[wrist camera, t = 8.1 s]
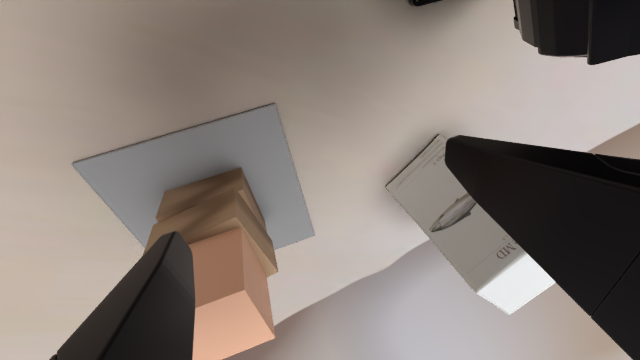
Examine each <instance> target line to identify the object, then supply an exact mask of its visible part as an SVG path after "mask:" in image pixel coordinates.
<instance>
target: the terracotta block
mask: <svg viewBox="0 0 640 360" xmlns="http://www.w3.org/2000/svg"><path fill="white" fill-rule="evenodd" d="M188 246H189V247H190V248H191V251H192V254H193V267H194V282H195V300H196V302H195V323H194V340H193V358H192V360H222V359H224V358H227V357H229V356H232V355H234V354H236V353H239V352H241V351H244V350H246V349H249V348H252V347H254V346H257V345H259V344H262V343H264V342H266V341H269V340H272V339H274V338H275V333H274V326H273V319H272V312H271V305H270V298H269V291H268V284H267V277H266V274H265V272H264V270H263V268H262V266H261V264H260V262H259V261H258V259H257V257H256V255H255V253H254V251H253V249H252V247H251V245H250V243H249V241H248V239H247V238H246V236H245V234H244V232H243V230H242V228H241V227H238V228H235V229H233V230H230V231H227V232H224V233H221V234H218V235H215V236H212V237H209V238H206V239H203V240H201V241H198V242H195V243H192V244H189V245H188Z"/></svg>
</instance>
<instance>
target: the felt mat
mask: <svg viewBox="0 0 640 360" xmlns="http://www.w3.org/2000/svg"><path fill="white" fill-rule="evenodd" d="M71 165H72V166H73V167H74V168H75V169H76V170H77V171H78V173H79V174H80V175H81V176H82V177H83V178H84V179H85V181H86V182H87V183H88V184H89V185H90V186H91V187H92V189H93V190H94V191H95V192H96V193H97V194H98V195H99V196H100V198H101V199H102V200H103V201H104V202H105V203H106V204H107V206H108V207H109V208H110V209H111V210H112V211H113V212H114V214H115V215H116V216H117V217H118V218H119V219H120V220H121V222H122V223H123V224H124V225H125V226H126V227H127V228H128V230H129V231H130V232H131V233H132V234H133V235H134V236H135V238H136V239H137V240H138V241H139V242H140V243H141V244H142V245H143V247H144V248H146V245H147V242H148V239H149V236H150V233H151V230H152V227H153V225H154V224H156V223H158V221H157V220H156V215H157V212H158V209H159V206H160V203H161V200H162V197H163V195H164V192H165V191H168V190H171V189H174V188H177V187H180V186H184V185H187V184H190V183H193V182H196V181H199V180H202V179H206V178H209V177H212V176H215V175H218V174H221V173H224V172H228V171H231V170H234V169H237V168H240V167H241V168H242V170H243V172H244V175H245V177H246V179H247V181H248V184H249V186H250V188H251V190H252V193H253V195H254V197H255V199H256V202H257V204H258V206H259V209H260V211H261V213H262V215H263V218H264V220H265V224H266V230H267V234H268V235H269V237H270V238H271V240H272V242H273V247H274V250H276V249H279V248H281V247H284V246H287V245H290V244H293V243H295V242H298V241H301V240H304V239H306V238H309V237H312V236H315V234H314V230H313V227H312V224H311V220H310V217H309V214H308V211H307V207H306V204H305V201H304V197H303V194H302V191H301V188H300V184H299V181H298V178H297V174H296V171H295V168H294V164H293V161H292V158H291V155H290V151H289V148H288V145H287V141H286V138H285V135H284V131H283V128H282V125H281V122H280V118H279V115H278V112H277V108H276V105H275V103H274V104H270V105H267V106H264V107H260V108H257V109H253V110H250V111H247V112H243V113H240V114H236V115H233V116H230V117H226V118H223V119H219V120H216V121H213V122H209V123H206V124H202V125H199V126H196V127H192V128H189V129H185V130H182V131H179V132H175V133H172V134H168V135H165V136H162V137H158V138H155V139H151V140H148V141H145V142H141V143H138V144H134V145H131V146H128V147H124V148H121V149H117V150H114V151H111V152H107V153H104V154H100V155H97V156H94V157H90V158H87V159H83V160H80V161H77V162H73V163H72V164H71Z"/></svg>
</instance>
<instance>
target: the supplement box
mask: <svg viewBox="0 0 640 360" xmlns="http://www.w3.org/2000/svg"><path fill="white" fill-rule="evenodd" d="M447 140H448V139H447V138H445V137H444V136H442V135H438V136H437V137H436V138H435V140H434V141H433V142H432V143H431V144H430V145H429V146H428V147H427V148H426V149H425V150H424V151H423V152H422V153H421V154H420V155H419V156H418V157H417V158H416V159H415V160H414V161H413V162H412V163H411V164H410V165H409V166H408V167H407V168H406V169H404V170H403V171H402V172H401V173H400V174H399V175H398V176H397V177H396V178H395V179H394V180H393V181H392V182H391V183H389V184H388V185H387V186H386V188H387V190H388V191H389V192H390V193H391V195H392V196H393V197H394V198H395V199H396V200H397V201H398V203H399V204H400V205H401V206H402V207H403V208H404V209H405V211H406V212H407V213H408V214H409V215H410V216H411V217H412V219H413V220H414V221H415V222H416V223H417V224H418V226H419V227H420V228H421V229H422V230H423V231H424V232H425V234H426V235H427V236H428V237H429V238H430V240H431V241H432V242H433V243H434V244H435V245H436V247H437V248H438V249H439V250H440V252H441V253H442V254H443V255H444V256H445V257H446V259H447V260H448V261H449V262H450V263H451V264H452V266H453V267H454V268H455V269H456V270H457V272H458V273H459V274H460V275H461V276H462V277H463V279H464V280H465V281H466V282H467V283H468V285H469V286H470V287H471V288H472V289H473V290H474V291H475V293H477V294H478V295H480V296H481V297H483V298H485V299H486V300H488V301H489V302H491V303H492V304H493V305H495V306H496V307H498V308H499V309H500V310H502V311H503V312H505V313H506V314H507V315H509V314H512V313H513V312H514V311H516V310H517V309H518V308H520V307H521V306H523V305H524V304H525V303H527V302H528V301H530V300H531V299H533V298H534V297H536V296H537V295H538V294H540V293H541V292H543V291H544V290H546V289H547V288H548V287H550V286H551V285H553V284H554V283H556V282H555V281H554V280H553V279H552V278H551V277H550V276H549V275H548V274H547V273H546V272H545V271H544V270H543V269H542V268H541V267H540V266H539V265H538V264H537V263H536V262H535V261H534V260H533V259H532V258H531V257H530V256H529V255H528V254H527V253H526V252H525V251H524V250H523V249H522V248H521V247H520V246H519V245H518V244H517V243H516V242H515V241H514V240H513V239H512V238H511V237H510V236H509V235H508V234H507V233H506V232H505V231H504V230H503V229H502V228H501V227H500V226H499V225H498V224H497V223H496V222H495V221H494V220H493V219H492V218H491V217H490V216H489V215H488V214H487V213H486V212H485V211H484V210H483V209H482V208H481V207H480V206H479V205H478V204H477V203H476V202H475V201H474V199H473V198H472V197H471V196H470V195H469V194H468V193H467V191H466V190H465V189H464V188H463V186H462V185H461V184H460V183H459V181H458V180H457V179H456V178H455V176H454V175H453V174H452V173H451V171H450V170H449V169H448V168H447V166H446V164H445V161H444V158H445V146H446V141H447Z"/></svg>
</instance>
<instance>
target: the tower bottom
mask: <svg viewBox="0 0 640 360" xmlns="http://www.w3.org/2000/svg"><path fill="white" fill-rule="evenodd" d="M234 187H235V188H236V190H237V191H238V193H239V194H240V195H241V197H242V198H243V200H244V201H245V202H246V204H247V205H248V207H249V208H250V210H251V211H252V212H253V214H254V215H255V217H256V218H257V220H258V221H259V222H260V224H261V225H262V227H263V228H264V230H265V231H266V232H267V230H266V224H265V220H264V218H263V215H262V213H261V211H260V209H259V206H258V204H257V202H256V199H255V197H254V195H253V193H252V190H251V188H250V186H249V184H248V181H247V179H246V177H245V175H244V172H243V170H242V168H241V167H240V168H237V169H234V170H231V171H228V172H224V173H221V174H218V175H215V176H212V177H209V178H206V179H202V180H199V181H196V182H193V183H190V184H187V185H184V186H180V187H177V188H174V189H171V190H168V191H165V192H164V195H163V197H162V200H161V203H160V206H159V209H158V212H157V215H156V220H157V221H158V222H161V221H163V220H165V219H167V218H169V217H171V216H174V215H176V214H178V213H180V212H182V211H184V210H186V209H189V208H191V207H193V206H195V205H197V204H199V203H202V202H204V201H206V200H208V199H210V198H212V197H215V196H217V195H219V194H221V193H223V192H225V191H228V190H230V189H232V188H234Z"/></svg>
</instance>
